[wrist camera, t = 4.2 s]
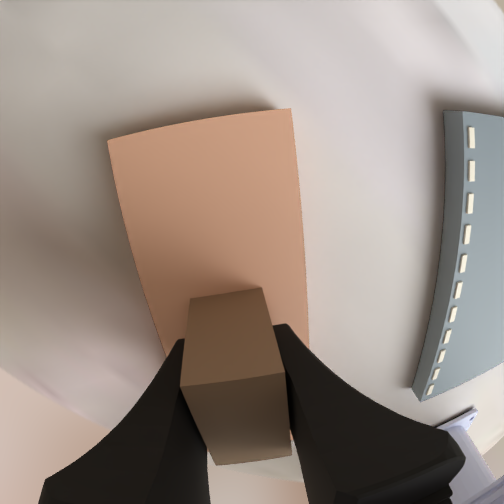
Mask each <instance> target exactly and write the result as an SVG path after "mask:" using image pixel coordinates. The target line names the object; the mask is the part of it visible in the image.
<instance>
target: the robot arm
mask: <svg viewBox="0 0 504 504" xmlns="http://www.w3.org/2000/svg"><path fill="white" fill-rule="evenodd" d="M272 326H273V330H274V334H275V337H276V341H277V345H278V348H279V352H280V356H281V359H282V363H283V367H284V370H285V379H286V390H287V401H288V413H289V425H290V431H291V434H292V437H293V440H294V442H295V446H296V449H297V452H298V456H299V460H300V465H301V469H302V474H303V478H304V483H305V487H306V492H307V497H308V501H309V504H504V475H503V476H502V477H501V478H499V479H498V480H496V478H495V477H494V475H493V473H492V472H491V470H490V468H489V467H488V465H487V464H486V462H485V460H484V458H483V457H482V455H481V454H480V452H479V451H478V449H477V447H476V446H475V444H474V443H473V441H472V440H471V438H470V436H469V435H468V433H467V430H468V428H469V427H470V425H471V423H472V422H473V420H474V418H475V417H476V415H477V413H478V410H477V409H476V408H475V409H472V410H471V411H469V412H467V413H465V414H463V415H461V416H459V417H457V418H455V419H453V420H451V421H449V422H447V423H445V424H443V425H441V426H439V427H437V428H435V427H432V426H429V425H426V424H423V423H419V422H417V421H414V420H412V419H409V418H407V417H404V416H402V415H400V414H398V413H396V412H394V411H392V410H390V409H388V408H386V407H384V406H382V405H380V404H378V403H376V402H375V401H373V400H371V399H370V398H368V397H366V396H365V395H363V394H362V393H360V392H359V391H357V390H356V389H354V388H353V387H351V386H350V385H349V384H347V383H346V382H345V381H343V380H342V379H341V378H340V377H338V376H337V375H336V374H335V373H334V372H332V371H331V370H330V369H329V368H328V367H327V366H326V365H324V364H323V363H322V362H321V361H320V360H319V359H318V358H317V357H316V356H315V355H314V354H313V353H312V352H311V351H310V350H309V349H308V348H307V347H306V346H305V344H304V343H303V342H302V341H301V340H300V339H299V338H298V336H297V335H296V334H295V333H294V331H293V330H292V329H291V327H290V326H289V325H288V324H286V323H283V324H278V325H272ZM184 343H185V338H183V339H178V340H177V341H176V342H175V344H174V346H173V348H172V349H171V351H170V353H169V355H168V356H167V358H166V360H165V361H164V363H163V365H162V366H161V368H160V369H159V371H158V373H157V374H156V376H155V377H154V379H153V380H152V382H151V383H150V385H149V386H148V388H147V389H146V390H145V392H144V393H143V395H142V396H141V397H140V399H139V400H138V402H137V403H136V404H135V405H134V407H133V408H132V409H131V410H130V411H129V413H128V414H127V415H126V416H125V417H124V418H123V420H122V421H121V422H120V423H119V424H118V425H117V426H116V427H115V428H114V429H113V430H112V431H111V432H110V433H109V434H108V435H107V436H106V437H104V438H103V439H102V440H101V441H100V442H99V443H98V444H97V445H96V446H94V447H93V448H92V449H91V450H89V451H88V452H87V453H86V454H84V455H83V456H81V457H80V458H79V459H77V460H76V461H75V462H73V463H72V464H70V465H69V466H67V467H65V468H64V469H62V470H60V471H59V472H57V473H55V474H54V475H52V476H50V477H48V478H47V479H45V482H44V485H43V488H42V492H41V496H40V499H39V503H38V504H210V495H209V485H208V472H207V446H206V444H205V442H204V440H203V438H202V436H201V434H200V431H199V429H198V427H197V425H196V423H195V421H194V418H193V416H192V414H191V411H190V409H189V407H188V405H187V402H186V400H185V398H184V395H183V393H182V390H181V388H180V380H181V370H182V361H183V352H184Z"/></svg>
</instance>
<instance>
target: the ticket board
mask: <svg viewBox="0 0 504 504" xmlns="http://www.w3.org/2000/svg"><path fill="white" fill-rule="evenodd" d="M443 113H444V128H445V160H446V173H445V205H444V221H443V233H442V243H441V252H440V260H439V268H438V275H437V282H436V288H435V294H434V299H433V305H432V310H431V315H430V320H429V325H428V329H427V334H426V338H425V342H424V346H423V350H422V354H421V358H420V362H419V365H418V369H417V372H416V376H415V379H414V382H413V386H412V390H413V392H414V393H415V395H416V397H417V398H418V400H419V401H420V402H422V401H425V400H427V399H430V398H432V397H434V396H437V395H439V394H441V393H444V392H446V391H448V390H450V389H452V388H455V387H457V386H459V385H461V384H463V383H465V382H467V381H469V380H471V379H473V378H475V377H477V376H479V375H481V374H483V373H485V372H487V371H488V370H490V369H492V368H494V367H496V366H497V365H499V364H501V363H503V362H504V117H500V116H494V115H487V114H481V113H473V112H466V111H448V110H443Z"/></svg>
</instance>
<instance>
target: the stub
mask: <svg viewBox="0 0 504 504" xmlns="http://www.w3.org/2000/svg"><path fill="white" fill-rule="evenodd" d="M107 143H108V149H109V154H110V160H111V165H112V170H113V175H114V180H115V185H116V189H117V194H118V198H119V203H120V207H121V211H122V215H123V219H124V223H125V227H126V231H127V235H128V239H129V243H130V246H131V250H132V254H133V257H134V261H135V264H136V268H137V271H138V274H139V278H140V281H141V284H142V288H143V291H144V294H145V297H146V300H147V303H148V306H149V309H150V312H151V315H152V318H153V321H154V324H155V327H156V330H157V333H158V335H159V338H160V341H161V344H162V346H163V349H164V352H165V354H166V357H167V356H168V355H169V353H170V351H171V349H172V348H173V346H174V344H175V342H176V341H177V340H178V339H183V338H185V343H184V352H183V361H182V370H181V380H180V388H181V390H182V393H183V395H184V398H185V400H186V402H187V405H188V407H189V409H190V411H191V414H192V416H193V418H194V421H195V423H196V425H197V427H198V429H199V431H200V434H201V436H202V438H203V440H204V442H205V444H206V446H207V451H208V452H210V454H211V457H212V459H213V461H214V463H215V464H216V466H217V465H228V464H237V463H245V462H253V461H260V460H267V459H273V458H279V457H284V456H290V455H292V450H291V440H293V437H292V434H291V431H290V425H289V413H288V401H287V390H286V379H285V370H284V367H283V363H282V359H281V356H280V352H279V348H278V345H277V341H276V337H275V334H274V330H273V326H272V325H278V324H283V323H286V324H288V325H289V326H290V327H291V329H292V330H293V331H294V333H295V334H296V335H297V336H298V338H299V339H300V340H301V341H302V342H303V343H304V344H305V346H306V347H307V348H308V349H309V329H308V304H307V284H306V267H305V251H304V237H303V223H302V211H301V199H300V188H299V177H298V167H297V157H296V148H295V139H294V130H293V121H292V113H291V108H289V109H277V110H267V111H257V112H249V113H241V114H233V115H226V116H219V117H213V118H207V119H201V120H195V121H189V122H184V123H179V124H174V125H169V126H164V127H159V128H155V129H150V130H146V131H141V132H137V133H133V134H129V135H125V136H121V137H117V138H114V139H110V140H107Z"/></svg>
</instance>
